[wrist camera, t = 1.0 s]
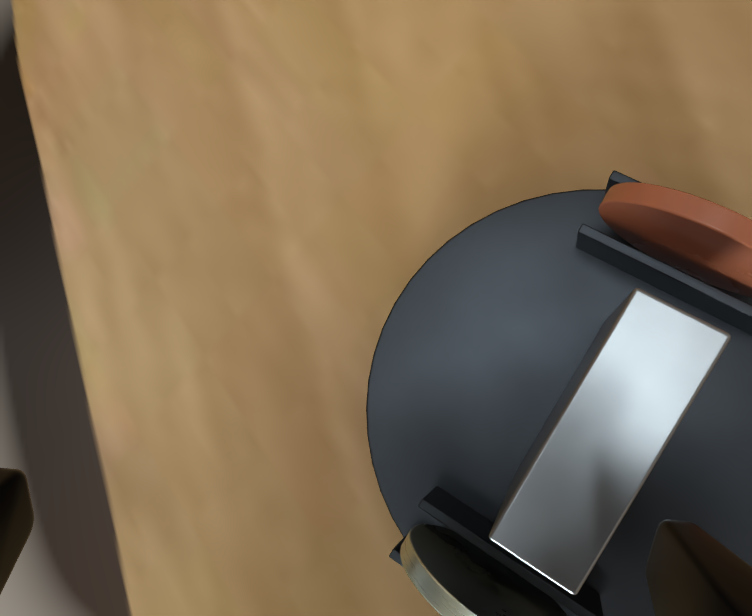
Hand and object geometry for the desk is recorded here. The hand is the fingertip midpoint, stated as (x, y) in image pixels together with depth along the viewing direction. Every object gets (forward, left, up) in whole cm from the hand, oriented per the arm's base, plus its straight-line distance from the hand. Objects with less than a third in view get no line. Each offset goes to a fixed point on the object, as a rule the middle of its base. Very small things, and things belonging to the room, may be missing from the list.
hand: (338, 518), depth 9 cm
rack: (-2, -3, -15) cm, 15 cm away
